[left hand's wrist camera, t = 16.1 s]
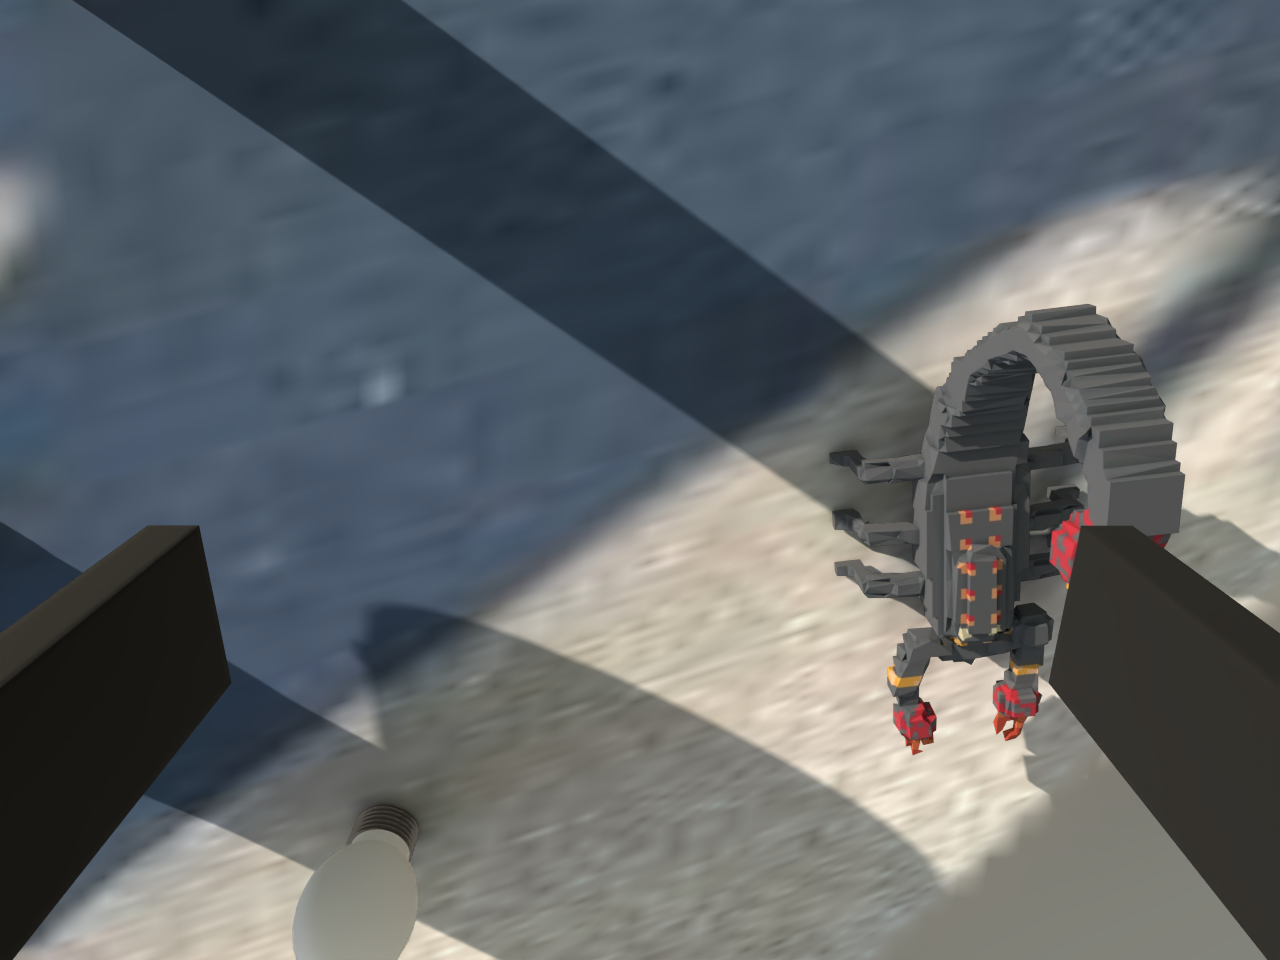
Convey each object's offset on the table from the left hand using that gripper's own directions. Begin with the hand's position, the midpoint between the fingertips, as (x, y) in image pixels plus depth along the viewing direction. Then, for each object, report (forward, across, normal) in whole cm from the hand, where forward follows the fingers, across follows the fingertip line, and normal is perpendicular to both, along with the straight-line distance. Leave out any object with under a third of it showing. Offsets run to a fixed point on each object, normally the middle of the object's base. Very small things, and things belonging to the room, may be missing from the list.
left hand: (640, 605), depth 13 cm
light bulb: (+32, +16, +34) cm, 50 cm away
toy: (+32, -17, +13) cm, 39 cm away
